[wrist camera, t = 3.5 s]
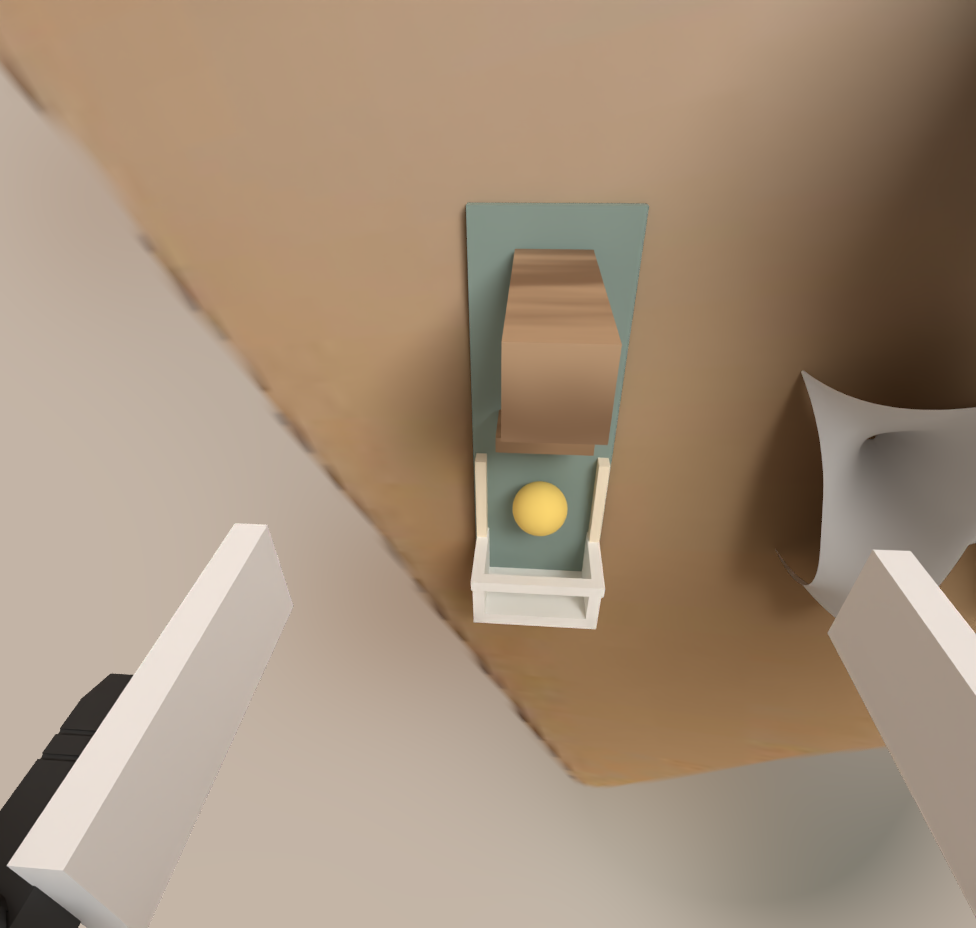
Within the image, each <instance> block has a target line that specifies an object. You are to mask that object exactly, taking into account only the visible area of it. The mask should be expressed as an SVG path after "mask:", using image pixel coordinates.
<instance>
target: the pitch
mask: <svg viewBox="0 0 976 928" xmlns="http://www.w3.org/2000/svg"><path fill="white" fill-rule="evenodd" d="M648 209H649V205H648V204H629V203H467V204H466V224H467V258H468V291H469V325H470V359H471V392H472V426H473V460H474V493H475V527H476V540H477V537H487V531H488V528H489V551H490V567H504V568H524V569H544V570H564V571H582V566H583V558H584V550H585V542H586V534H587V532H588V535H589V542H600V536H601V529H602V522H603V515H604V508H605V502H606V495H607V488H608V481H609V474H610V468H611V461H612V454H613V447H614V440H615V434H616V427H617V420H618V413H619V406H620V400H621V393H622V386H623V379H624V372H625V366H626V359H627V352H628V345H629V338H630V332H631V325H632V318H633V311H634V304H635V298H636V291H637V284H638V277H639V270H640V264H641V257H642V250H643V243H644V237H645V230H646V223H647V216H648ZM515 249H584V250H594V252H595V256H596V259H597V263H598V266H599V269H600V273H601V276H602V279H603V283H604V286H605V289H606V293H607V296H608V300H609V303H610V306H611V310H612V313H613V316H614V320H615V323H616V326H617V330H618V333H619V337H620V340H621V343H622V347H621V355H620V362H619V369H618V376H617V383H616V390H615V398H614V405H613V412H612V419H611V426H610V433H609V441H608V445H595V448H594V456H583V455H555V454H527V453H499V452H496V430H497V422H498V413H499V410H501V353H502V335H503V328H504V321H505V315H506V308H507V301H508V294H509V287H510V280H511V273H512V266H513V259H514V252H515ZM536 481H544V482H548V483H551V484H553V485H555V486H556V487H557V488H558V489H560V491H561V492H562V493H563V495H564V496H565V499H566V501H567V507H568V510H567V516H566V519H565V521H564V523H563V525H562V526H561V527H560V528H559V529H558V530H557V531H556V532H554V533H552V534H550V535H546V536H534V535H531V534H528V533H526V532H525V531H523V530H522V529H521V528H520V527H519V526H518V524H517V523H516V521H515V519H514V516H513V501H514V498H515V496H516V494H517V493H518V491H519V490H520V489H521V488H522V487H524V486H525V485H527V484H529V483H532V482H536Z"/></svg>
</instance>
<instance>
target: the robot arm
mask: <svg viewBox="0 0 976 928" xmlns="http://www.w3.org/2000/svg"><path fill="white" fill-rule="evenodd" d="M292 608H293V603H292V600H291V596H290V593H289V590H288V587H287V584H286V581H285V578H284V574H283V571H282V569H281V565H280V562H279V559H278V556H277V553H276V549H275V546H274V543H273V540H272V537H271V534H270V531H269V527H268V525H262V524H237V523H235V524H234V526H233V527H232V529H231V530H230V531H229V533H228V534H227V536H226V537H225V539H224V540H223V542H222V543H221V545H220V546H219V548H218V549H217V551H216V552H215V554H214V556H213V557H212V558H211V560H210V561H209V563H208V564H207V566H206V567H205V569H204V570H203V572H202V573H201V575H200V576H199V578H198V580H197V581H196V582H195V584H194V586H193V587H192V588H191V590H190V591H189V593H188V594H187V596H186V597H185V599H184V600H183V602H182V603H181V605H180V607H179V608H178V610H177V611H176V612H175V614H174V615H173V617H172V618H171V620H170V622H169V623H168V624H167V626H166V627H165V629H164V630H163V632H162V633H161V635H160V637H159V638H158V639H157V641H156V642H155V644H154V645H153V647H152V648H151V650H150V651H149V653H148V654H147V656H146V658H145V659H144V661H143V662H142V664H141V665H140V666H139V668H138V669H137V671H136V672H135V674H134V675H124V674H110V675H109V676H107V677H106V678H105V679H104V680H103V681H102V682H100V683H99V684H98V685H97V686H96V687H95V688H93V689H92V690H91V691H90V692H89V693H88V694H86V695H85V696H84V697H83V698H82V699H81V700H80V701H79V703H78V704H77V706H76V707H75V708H74V710H73V711H72V712H71V714H70V715H69V717H68V718H67V719H66V721H65V722H64V724H63V725H62V726H61V728H60V732H59V734H56V735H55V736H54V737H53V739H52V740H51V742H50V743H49V744H48V746H47V747H46V749H45V750H44V751H43V755H42V758H41V759H37V761H36V762H35V764H34V765H33V766H32V768H31V769H30V771H29V772H28V773H27V775H26V776H25V777H24V779H23V780H22V781H21V783H20V784H19V786H18V787H17V789H16V790H15V791H14V793H13V794H12V795H11V797H10V798H9V799H8V801H7V802H6V804H5V805H4V806H3V808H2V809H1V811H0V928H78V926H79V925H80V923H82V924H83V925H84V926H86V927H87V928H148V927H149V924H150V922H151V920H152V918H153V916H154V913H155V911H156V909H157V907H158V904H159V902H160V900H161V898H162V895H163V893H164V891H165V889H166V887H167V885H168V882H169V880H170V878H171V876H172V874H173V871H174V869H175V867H176V865H177V863H178V860H179V858H180V856H181V854H182V851H183V849H184V847H185V845H186V843H187V840H188V838H189V836H190V834H191V832H192V829H193V827H194V825H195V822H196V821H197V818H198V816H199V814H200V812H201V809H202V807H203V805H204V803H205V801H206V798H207V796H208V794H209V792H210V790H211V787H212V785H213V783H214V781H215V778H216V776H217V774H218V772H219V770H220V768H221V765H222V763H223V761H224V759H225V757H226V754H227V752H228V750H229V748H230V746H231V743H232V741H233V739H234V736H235V734H236V732H237V730H238V728H239V726H240V723H241V721H242V719H243V717H244V715H245V712H246V710H247V708H248V705H249V703H250V701H251V699H252V697H253V695H254V692H255V690H256V688H257V686H258V684H259V681H260V679H261V677H262V675H263V672H264V670H265V668H266V666H267V664H268V662H269V659H270V657H271V655H272V653H273V650H274V648H275V646H276V644H277V641H278V640H279V637H280V635H281V633H282V631H283V629H284V626H285V624H286V622H287V619H288V617H289V615H290V613H291V611H292ZM828 635H829V637H830V639H831V641H832V643H833V645H834V646H835V648H836V650H837V652H838V654H839V656H840V658H841V660H842V662H843V664H844V666H845V668H846V670H847V671H848V673H849V675H850V677H851V679H852V681H853V683H854V685H855V687H856V689H857V691H858V693H859V694H860V696H861V698H862V700H863V702H864V704H865V706H866V708H867V710H868V712H869V714H870V716H871V718H872V719H873V721H874V723H875V725H876V727H877V729H878V731H879V733H880V735H881V737H882V739H883V741H884V743H885V744H886V746H887V748H888V750H889V752H890V754H891V756H892V758H893V760H894V762H895V764H896V765H897V767H898V769H899V771H900V773H901V775H902V777H903V779H904V781H905V783H906V785H907V787H908V789H909V791H910V792H911V794H912V796H913V798H914V800H915V802H916V804H917V806H918V808H919V810H920V812H921V814H922V815H923V817H924V819H925V821H926V823H927V825H928V827H929V829H930V831H931V833H932V835H933V837H934V838H935V840H936V842H937V844H938V846H939V848H940V850H941V852H942V854H943V856H944V858H945V860H946V862H947V864H948V865H949V867H950V869H951V871H952V873H953V875H954V877H955V879H956V881H957V883H958V885H959V886H960V888H961V890H962V892H963V894H964V896H965V898H966V900H967V902H968V904H969V906H970V908H971V910H972V911H973V913H974V915H975V917H976V634H975V633H974V631H973V630H972V629H971V627H970V626H969V625H968V624H967V622H966V621H965V620H964V618H963V617H962V616H961V615H960V613H959V612H958V611H957V610H956V608H955V607H954V606H953V604H952V603H951V602H950V601H949V599H948V598H947V597H946V595H945V594H944V593H943V592H942V590H941V589H940V588H939V587H938V585H937V584H936V583H935V581H934V580H933V579H932V578H931V576H930V575H929V574H928V573H927V571H926V570H925V569H924V567H923V566H922V565H921V564H920V562H919V561H918V560H917V558H916V557H915V556H914V555H913V553H912V552H911V551H896V550H872V552H871V554H870V556H869V557H868V559H867V561H866V563H865V565H864V567H863V568H862V570H861V572H860V574H859V576H858V578H857V580H856V581H855V583H854V585H853V587H852V589H851V591H850V592H849V594H848V596H847V598H846V600H845V602H844V604H843V605H842V607H841V609H840V611H839V613H838V615H837V616H836V618H835V620H834V622H833V624H832V626H831V627H830V629H829V631H828Z"/></svg>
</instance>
